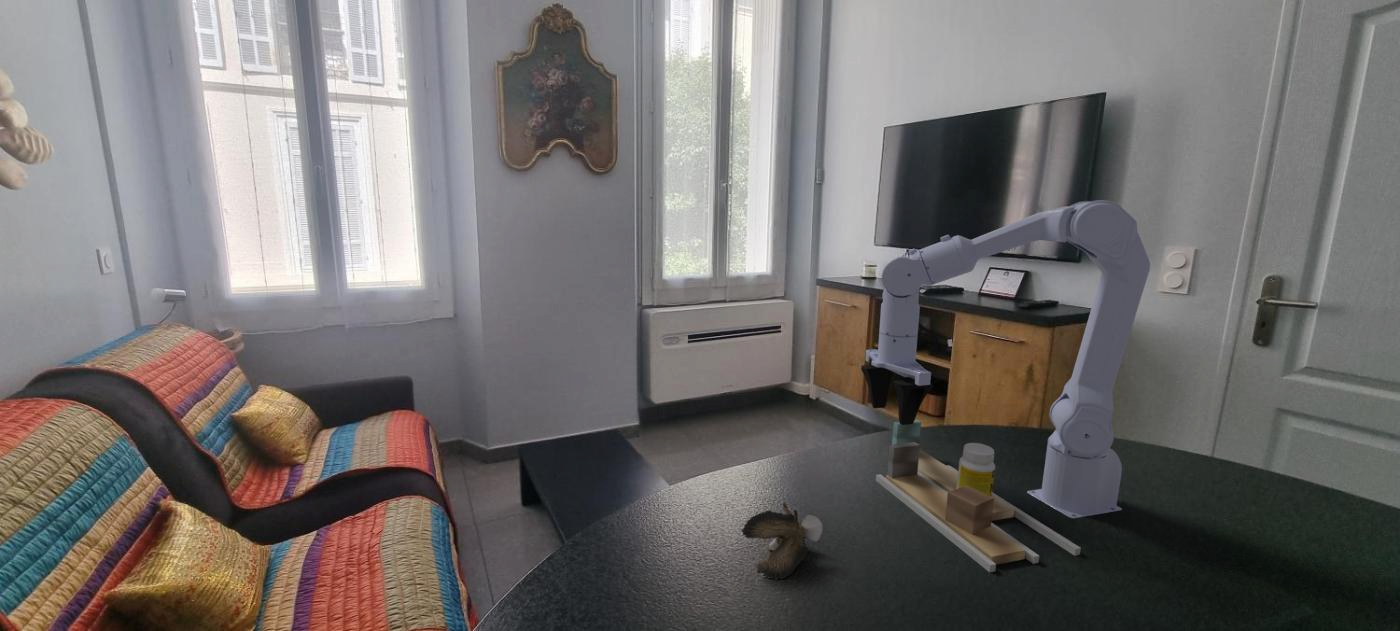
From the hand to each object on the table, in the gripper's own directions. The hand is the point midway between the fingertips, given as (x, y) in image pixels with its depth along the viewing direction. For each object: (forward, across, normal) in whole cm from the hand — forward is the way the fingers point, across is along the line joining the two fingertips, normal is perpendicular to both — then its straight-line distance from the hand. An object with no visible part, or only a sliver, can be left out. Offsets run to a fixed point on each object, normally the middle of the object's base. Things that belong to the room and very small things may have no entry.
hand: (892, 415), depth 93 cm
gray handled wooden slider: (+9, +15, -1) cm, 18 cm away
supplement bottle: (+10, +13, +6) cm, 17 cm away
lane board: (+10, +15, +3) cm, 18 cm away
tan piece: (+9, +7, +6) cm, 13 cm away
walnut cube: (+8, +19, -1) cm, 21 cm away
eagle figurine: (+10, +17, -26) cm, 33 cm away
